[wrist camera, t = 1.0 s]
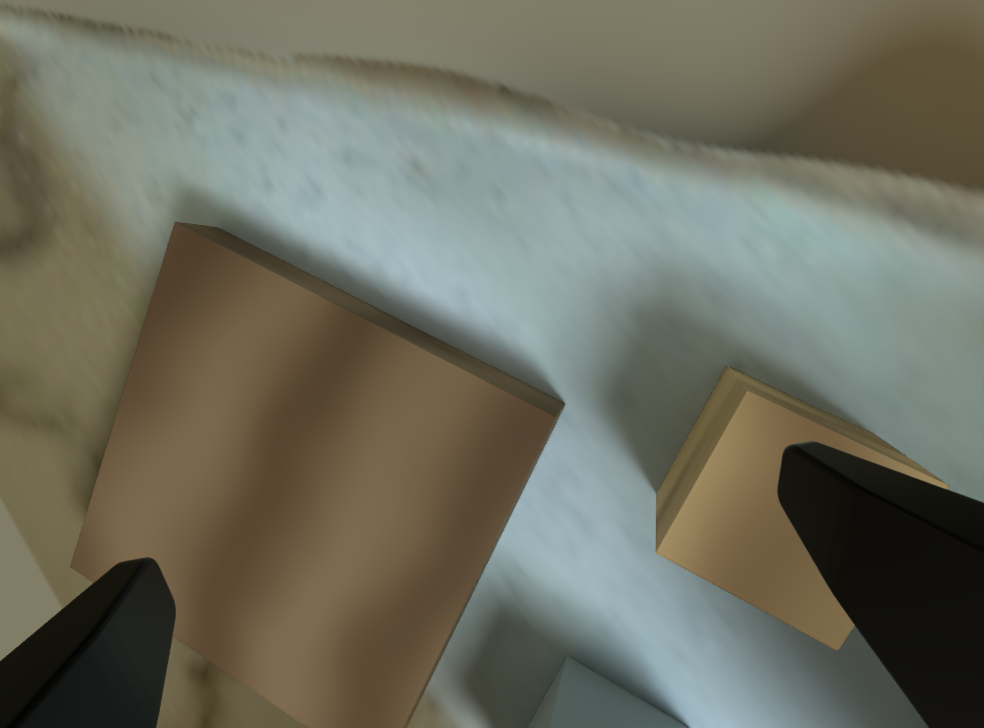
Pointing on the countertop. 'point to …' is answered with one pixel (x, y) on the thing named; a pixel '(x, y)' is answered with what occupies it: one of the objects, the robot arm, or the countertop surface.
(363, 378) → the base
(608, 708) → the block
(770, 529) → the block
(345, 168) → the countertop surface
